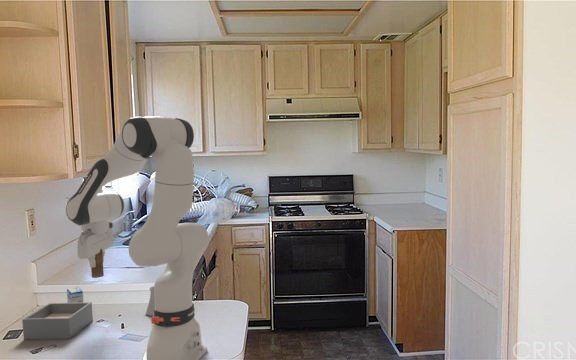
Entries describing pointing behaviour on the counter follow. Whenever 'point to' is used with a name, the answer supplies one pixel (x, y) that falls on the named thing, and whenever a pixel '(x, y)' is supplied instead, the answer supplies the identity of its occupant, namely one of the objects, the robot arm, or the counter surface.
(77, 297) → the medicine box
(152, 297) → the flask
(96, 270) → the wooden peg
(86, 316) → the storage box
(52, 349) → the counter surface
